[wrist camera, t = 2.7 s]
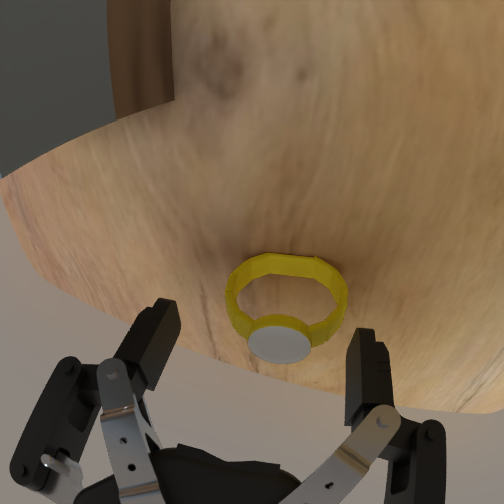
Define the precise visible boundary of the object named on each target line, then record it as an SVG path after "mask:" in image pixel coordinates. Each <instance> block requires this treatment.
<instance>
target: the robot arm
mask: <svg viewBox="0 0 504 504" xmlns="http://www.w3.org/2000/svg"><path fill="white" fill-rule="evenodd" d="M180 330H181V321H180V317H179V312H178V308H177V304H176V301H174V300H169V299H164V298H158V299H157V301H156V302H155V304H154V306H153V307H152V308H151V307H147V308H145V309H144V310H143V311H142V312H140V313H139V314H138V316H137V318H136V319H135V321H134V324H132V326H131V328H130V331H128V333H127V334H126V336H125V338H124V340H123V342H122V343H121V345H120V347H119V348H118V350H117V352H116V353H115V355H114V356H113V358H110V359H106V360H104V361H103V362H102V363H100V364H99V365H94V364H81V362H80V361H79V360H78V359H77V358H76V357H72V356H69V357H65V358H63V359H62V360H60V362H59V363H58V364H57V366H56V368H55V369H54V371H53V373H52V375H51V377H50V379H49V380H48V382H47V384H46V386H45V388H44V390H43V392H42V394H41V396H40V398H39V400H38V402H37V404H36V406H35V408H34V410H33V412H32V414H31V416H30V418H29V420H28V422H27V424H26V427H25V429H24V431H23V433H22V436H21V438H20V440H19V443H18V445H17V447H16V450H15V452H14V455H13V457H12V460H11V462H10V474H11V476H12V478H13V480H14V481H15V482H16V483H18V484H19V485H22V486H24V487H26V488H28V489H30V490H32V491H34V492H36V493H39V494H42V495H44V496H45V497H47V498H49V499H50V500H52V501H53V502H55V503H57V504H339V503H340V502H341V501H342V500H343V499H344V498H345V497H346V496H347V495H348V493H350V491H351V490H352V489H353V488H354V487H355V486H356V485H357V484H358V483H359V482H360V480H361V479H362V478H363V477H364V476H365V475H366V473H367V472H368V470H369V467H370V466H371V464H372V463H373V462H374V461H375V459H376V458H377V457H378V458H382V459H385V460H388V461H389V462H388V473H387V483H386V492H385V500H384V504H445V492H446V432H445V429H444V427H443V425H442V424H441V423H440V422H439V421H436V420H432V419H431V420H427V421H424V422H423V423H422V424H421V423H418V422H415V421H411V420H408V419H406V418H404V417H402V416H401V415H400V414H399V413H398V411H397V410H396V409H395V406H394V400H393V387H392V377H391V367H390V358H389V351H388V350H387V348H386V346H385V344H384V343H383V342H376V339H375V331H374V329H368V328H356V330H355V333H354V335H353V337H352V340H351V342H350V345H349V347H348V350H347V354H346V395H345V424H344V425H345V426H352V427H351V434H350V435H349V437H348V438H347V439H346V440H345V441H344V442H343V443H342V444H341V445H340V446H339V447H338V448H337V450H335V452H334V453H333V454H332V455H331V456H330V457H329V458H328V459H327V460H326V461H325V462H324V463H323V464H322V465H321V466H320V467H318V468H317V469H316V470H315V471H314V472H313V473H312V474H311V475H310V476H309V477H308V478H307V479H306V480H304V481H303V482H302V483H301V482H300V481H299V480H298V479H297V478H296V477H295V476H293V475H292V474H290V473H288V472H286V471H284V470H281V469H280V464H273V463H265V462H259V461H243V462H227V461H224V460H221V459H219V458H217V457H215V456H213V455H211V454H209V453H207V452H205V451H204V450H201V449H197V448H193V447H190V446H186V445H183V444H179V443H178V445H177V448H165V449H163V447H162V445H161V443H160V440H159V438H158V436H157V434H156V432H155V430H154V427H153V424H152V422H151V419H150V415H149V412H148V409H147V406H146V403H145V399H144V396H143V394H144V392H145V390H146V389H148V390H151V391H154V389H155V387H156V385H157V383H158V380H159V378H160V376H161V374H162V371H163V369H164V367H165V365H166V362H167V360H168V358H169V356H170V354H171V351H172V349H173V347H174V345H175V343H176V341H177V338H178V336H179V334H180ZM101 406H102V409H103V414H102V415H101V416H100V421H101V426H102V431H103V435H104V439H105V443H106V447H107V451H108V455H109V459H110V462H111V465H112V469H113V472H114V474H113V475H111V476H109V477H107V478H105V479H103V480H101V481H99V482H97V483H95V484H93V485H91V486H89V487H87V488H85V489H83V487H82V479H83V475H82V469H81V467H80V465H79V464H78V463H79V460H80V458H81V455H82V452H83V450H84V447H85V444H86V442H87V440H88V437H89V434H90V432H91V429H92V427H93V425H94V422H95V420H96V417H97V415H98V412H99V410H100V408H101Z"/></svg>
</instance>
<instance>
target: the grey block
mask: <svg viewBox="0 0 504 504" xmlns="http://www.w3.org/2000/svg"><path fill="white" fill-rule="evenodd" d="M114 121H116V115H115V107H114V100H113V92H112V83H111V73H110V62H109V49H108V31H107V0H0V179H2V178H4V177H5V176H7V175H8V174H10V173H12V172H13V171H15V170H16V169H18V168H20V167H22V166H23V165H25V164H27V163H28V162H30V161H32V160H34V159H35V158H37V157H39V156H41V155H43V154H45V153H47V152H48V151H50V150H52V149H54V148H56V147H58V146H60V145H62V144H64V143H66V142H68V141H70V140H72V139H75V138H77V137H79V136H81V135H83V134H85V133H88V132H90V131H92V130H95V129H97V128H99V127H102V126H104V125H106V124H109V123H111V122H114Z"/></svg>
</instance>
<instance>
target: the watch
mask: <svg viewBox="0 0 504 504" xmlns="http://www.w3.org/2000/svg"><path fill="white" fill-rule="evenodd" d="M317 257H318V256H315V258H313V257H304V256H295V255H286V254H277V253H269V252H267V253H264V254H261V255H258V256H255V257H252V258H250V259H248V260H246V261H244V262H243V263H242V264H241V265H240V266H239V267H237V268H236V269H235V270H234V271H233V272H232V273H231V274H230V276H229V279H228V282H227V285H226V288H225V300H226V308H227V313H228V316H229V318H230V321H231V323H232V326H233V328H234V329H236V332H237V333H238V334H240V335H241V336H242V337H244V338H245V339H246V340H247V344H248V347H249V349H250V350H251V351H252V353H253V354H254V355H256V356H257V357H259V358H260V359H262V360H265V361H268V362H271V363H276V364H289V363H295V362H298V361H300V360H303V359H304V358H305V357H306V356H308V354H309V352H310V350H311V348H313V347H315V346H318V345H321V344H324V342H325V341H328V340H329V339H330V338H331V337H332V335H333V334H334V333H335V332H336V331H337V330H338V329H339V328H340V326H341V324H342V322H343V319H344V315H345V311H346V308H347V299H348V288H347V284H346V283H345V281H344V279H343V278H342V276H341V274H340V273H339V271H338V270H336V268H334V267H333V266H331V265H330V264H328V263H326V262H325V261H323V260H322V259H320V258H317ZM269 273H271V274H280V275H288V276H297V277H306V278H314V279H315V280H317V281H318V282H320V283H321V284H323V285H324V286H325V287H327V288H328V289H329V290H330V292H331V294H332V296H333V298H334V299H335V301H336V303H337V308H336V309H335V310H334V311H333V312H332V313H331V314H330V315H329V316H328V317H327V318H326V319H325V321H322V322H319V323H316V324H313V325H310V326H307V325H306V324H305V323H303V322H302V321H301V320H299V319H297V318H294V317H292V316H287V315H282V314H272V315H267V316H263V317H261V318H259V319H257V320H254V319H252V318H251V317H249V316H248V315H246V314H245V313H244V312H242V311H241V310H240V309H239V307H238V304H237V302H236V299H237V295H238V292H239V291H241V290H242V289H243V288H244V287H245V286H246V285H247V284H248V283H249V282H250V281H251V280H253V279H256V278H259V277H261V276H264V275H267V274H269Z"/></svg>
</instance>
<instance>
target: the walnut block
mask: <svg viewBox="0 0 504 504" xmlns="http://www.w3.org/2000/svg"><path fill="white" fill-rule="evenodd" d="M107 31H108V49H109V62H110V73H111V83H112V92H113V100H114V107H115V115H116V120H117V119H120V118H123V117H125V116H128V115H131V114H134V113H136V112H139V111H142V110H145V109H148V108H151V107H154V106H157V105H160V104H163V103H167V102H170V101H173V100H175V99H174V85H173V68H172V48H171V15H170V0H107Z"/></svg>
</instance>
